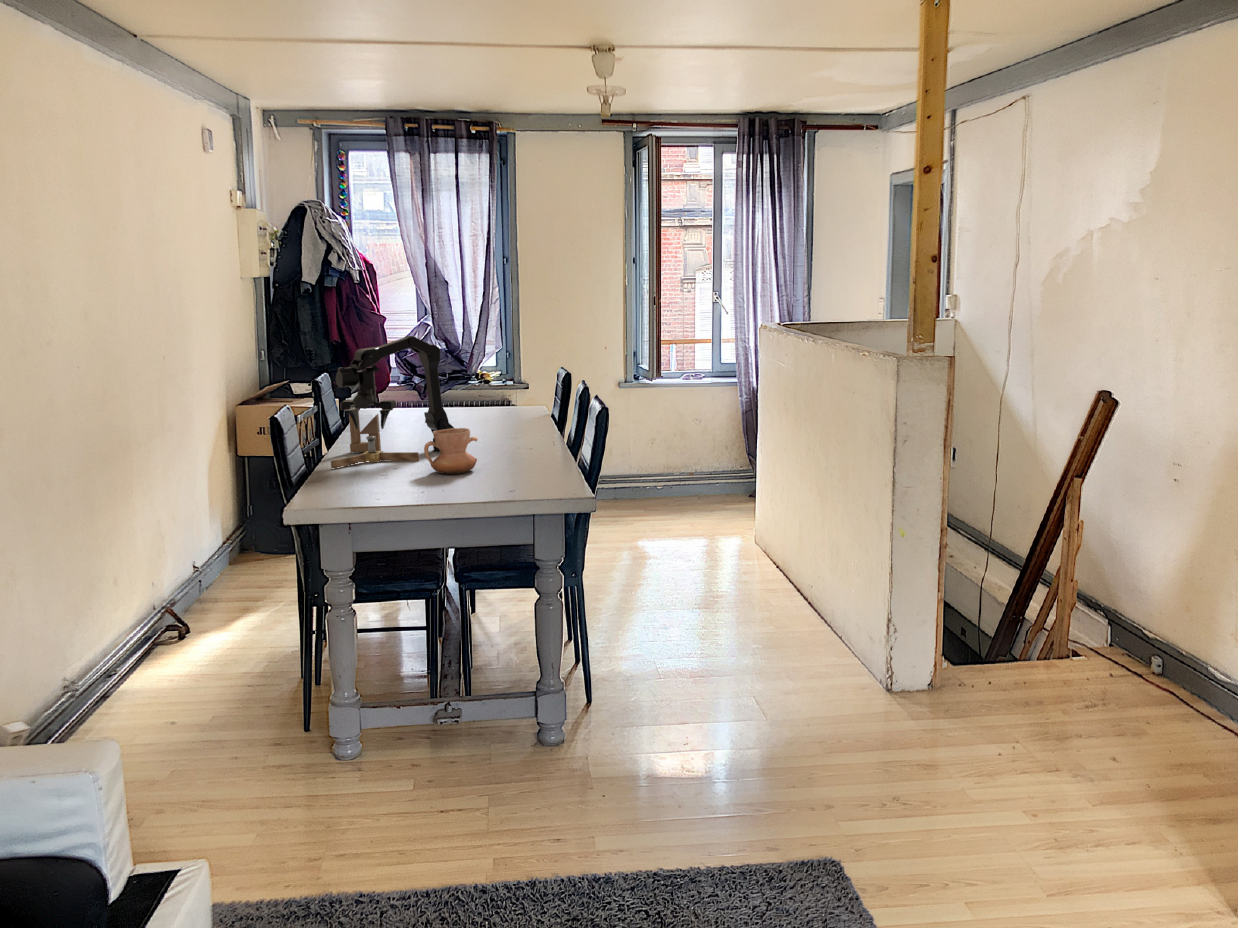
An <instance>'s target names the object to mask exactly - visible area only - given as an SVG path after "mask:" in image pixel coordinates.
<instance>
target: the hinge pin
mask: <svg viewBox="0 0 1238 928" xmlns="http://www.w3.org/2000/svg"><path fill="white" fill-rule="evenodd" d="M365 438H366V439H365V440H366V441H367V442H368V452H369V454H376V452H375V439H376V437H375V436H369V435H367V436H366V437H365Z"/></svg>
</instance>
